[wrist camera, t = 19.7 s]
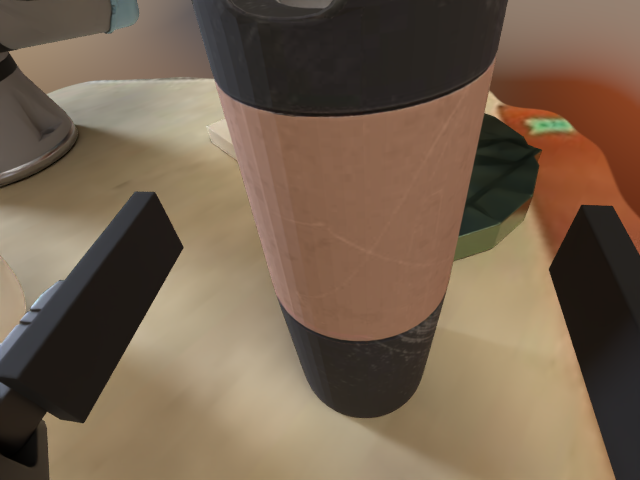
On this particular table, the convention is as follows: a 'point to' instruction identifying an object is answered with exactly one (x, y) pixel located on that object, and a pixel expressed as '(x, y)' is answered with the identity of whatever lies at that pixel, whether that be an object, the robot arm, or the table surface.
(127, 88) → the table surface
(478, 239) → the ring
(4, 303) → the trinket box
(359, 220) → the travel mug
